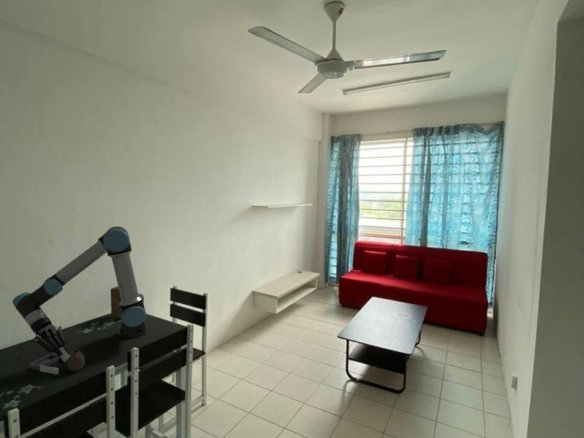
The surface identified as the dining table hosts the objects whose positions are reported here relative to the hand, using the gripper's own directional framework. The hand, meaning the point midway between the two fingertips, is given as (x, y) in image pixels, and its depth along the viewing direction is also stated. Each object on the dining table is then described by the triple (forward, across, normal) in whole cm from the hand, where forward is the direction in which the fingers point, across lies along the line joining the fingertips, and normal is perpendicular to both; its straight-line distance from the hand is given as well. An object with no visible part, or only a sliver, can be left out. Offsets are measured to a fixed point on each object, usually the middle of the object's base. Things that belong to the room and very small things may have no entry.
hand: (67, 360), depth 149 cm
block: (-14, -61, -20) cm, 66 cm away
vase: (+6, -1, 0) cm, 6 cm away
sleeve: (-1, -1, -6) cm, 7 cm away
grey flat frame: (-7, -1, -13) cm, 14 cm away
